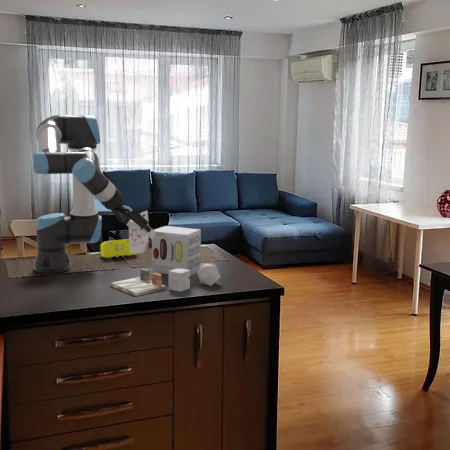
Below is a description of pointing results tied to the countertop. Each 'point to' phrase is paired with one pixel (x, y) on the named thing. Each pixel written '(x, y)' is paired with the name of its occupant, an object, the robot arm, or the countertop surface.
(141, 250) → the ink cartridge box
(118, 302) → the countertop surface
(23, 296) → the countertop surface
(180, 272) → the skincare box
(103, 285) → the countertop surface
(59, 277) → the countertop surface
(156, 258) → the supplement box
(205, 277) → the die
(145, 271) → the docking board
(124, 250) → the yellow toy chassis
